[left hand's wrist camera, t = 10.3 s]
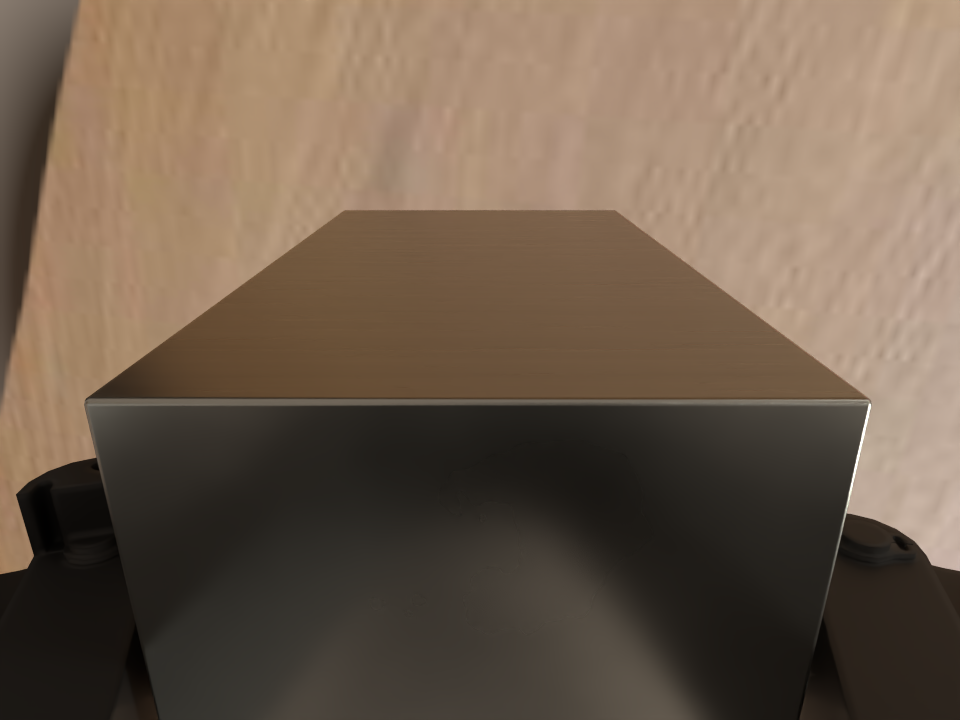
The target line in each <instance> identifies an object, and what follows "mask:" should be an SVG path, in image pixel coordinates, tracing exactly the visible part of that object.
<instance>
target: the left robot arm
mask: <svg viewBox="0 0 960 720" xmlns="http://www.w3.org/2000/svg"><path fill="white" fill-rule="evenodd" d="M16 496H17V500H18V503H19V506H20V510H21V513H22V517H23V520H24V523H25V527H26V530H27V533H28V537H29V540H30V544H31V547H32V550H33V554H34V557H33V559H32V561H31V563H30V565H29V566H28V568H27V569H24V570H20V571H15V572H10V573H5V574H0V720H158V716H157V711H156V707H155V703H154V699H153V694H152V690H151V686H150V682H149V677H148V673H147V669H146V665H145V661H144V656H143V652H142V648H141V644H140V639H139V635H138V631H137V627H136V622H135V618H134V614H133V610H132V605H131V601H130V597H129V593H128V588H127V584H126V580H125V576H124V571H123V567H122V563H121V559H120V554H119V550H118V546H117V542H116V537H115V533H114V529H113V525H112V520H111V516H110V512H109V508H108V504H107V499H106V495H105V491H104V487H103V482H102V478H101V474H100V470H99V465H98V461H97V458H93V459H88V460H83V461H78V462H73V463H70V464H67V465H64V466H62V467H59V468H56V469H53V470H50V471H48V472H46V473H44V474H43V475H41V476H39V477H37V478H35V479H34V480H32V481H30V482H28V483H27V484H26V485H25V486H24V487H23V488H22V489H21V490H20V491H19V492H18V493H17V494H16ZM798 720H960V571H956V570H950V569H945V568H941V567H937V566H933V565H931V563H930V561H929V560H928V558H927V556H926V554H925V553H924V552H923V551H922V550H921V548H920V547H919V546H918V545H917V544H916V543H915V541H913V540H912V539H910V538H909V537H907V536H906V535H904V534H903V533H901V532H900V531H898V530H897V529H895V528H892V527H890V526H888V525H885V524H883V523H881V522H878V521H876V520H873V519H869V518H865V517H861V516H857V515H852V514H847V513H846V518H845V522H844V526H843V531H842V535H841V539H840V543H839V548H838V552H837V556H836V561H835V565H834V569H833V573H832V578H831V582H830V586H829V591H828V595H827V599H826V603H825V608H824V612H823V616H822V621H821V625H820V629H819V633H818V638H817V642H816V646H815V651H814V655H813V659H812V664H811V668H810V672H809V676H808V681H807V685H806V689H805V694H804V698H803V702H802V706H801V711H800V715H799V719H798Z"/></svg>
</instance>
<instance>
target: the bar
mask: <svg viewBox="0 0 960 720" xmlns="http://www.w3.org/2000/svg"><path fill="white" fill-rule="evenodd" d="M84 406H85V410H86V414H87V419H88V423H89V427H90V431H91V436H92V440H93V444H94V448H95V453H96V457H97V461H98V465H99V470H100V474H101V478H102V482H103V487H104V491H105V495H106V499H107V504H108V508H109V512H110V516H111V520H112V525H113V529H114V533H115V537H116V542H117V546H118V550H119V554H120V559H121V563H122V567H123V571H124V576H125V580H126V584H127V588H128V593H129V597H130V601H131V605H132V610H133V614H134V618H135V622H136V627H137V631H138V635H139V639H140V644H141V648H142V652H143V656H144V661H145V665H146V669H147V673H148V677H149V682H150V686H151V690H152V694H153V699H154V703H155V707H156V711H157V716H158V720H798V719H799V715H800V711H801V706H802V702H803V698H804V694H805V689H806V685H807V681H808V676H809V672H810V668H811V664H812V659H813V655H814V651H815V646H816V642H817V638H818V633H819V629H820V625H821V621H822V616H823V612H824V608H825V603H826V599H827V595H828V591H829V586H830V582H831V578H832V573H833V569H834V565H835V561H836V556H837V552H838V548H839V543H840V539H841V535H842V531H843V526H844V522H845V518H846V513H847V509H848V505H849V501H850V496H851V492H852V488H853V483H854V479H855V475H856V470H857V466H858V462H859V458H860V453H861V449H862V445H863V440H864V436H865V432H866V428H867V423H868V419H869V415H870V410H871V406H872V405H871V400H870V399H869V398H868V397H866V396H865V395H864V394H862V393H861V392H860V391H858V390H857V389H856V388H854V387H853V386H852V385H850V384H849V383H847V382H846V381H845V380H843V379H842V378H841V377H839V376H838V375H837V374H835V373H834V372H833V371H831V370H830V369H829V368H827V367H826V366H825V365H823V364H822V363H820V362H819V361H818V360H816V359H815V358H814V357H812V356H811V355H810V354H808V353H807V352H806V351H804V350H803V349H802V348H800V347H799V346H798V345H796V344H795V343H793V342H792V341H791V340H789V339H788V338H787V337H785V336H784V335H783V334H781V333H780V332H779V331H777V330H776V329H775V328H773V327H772V326H771V325H769V324H768V323H766V322H765V321H764V320H762V319H761V318H760V317H758V316H757V315H756V314H754V313H753V312H752V311H750V310H749V309H748V308H746V307H745V306H744V305H742V304H741V303H740V302H738V301H737V300H735V299H734V298H733V297H731V296H730V295H729V294H727V293H726V292H725V291H723V290H722V289H721V288H719V287H718V286H717V285H715V284H714V283H713V282H711V281H710V280H708V279H707V278H706V277H704V276H703V275H702V274H700V273H699V272H698V271H696V270H695V269H694V268H692V267H691V266H690V265H688V264H687V263H686V262H684V261H683V260H681V259H680V258H679V257H677V256H676V255H675V254H673V253H672V252H671V251H669V250H668V249H667V248H665V247H664V246H663V245H661V244H660V243H659V242H657V241H656V240H654V239H653V238H652V237H650V236H649V235H648V234H646V233H645V232H644V231H642V230H641V229H640V228H638V227H637V226H636V225H634V224H633V223H632V222H630V221H629V220H627V219H626V218H625V217H623V216H622V215H621V214H619V213H618V212H617V211H615V210H345V211H343V212H342V213H340V214H339V215H338V216H336V217H335V218H333V219H332V220H331V221H329V222H328V223H327V224H325V225H324V226H322V227H321V228H320V229H318V230H317V231H316V232H314V233H313V234H311V235H310V236H309V237H307V238H306V239H305V240H303V241H302V242H300V243H299V244H298V245H296V246H295V247H294V248H292V249H291V250H290V251H288V252H287V253H285V254H284V255H283V256H281V257H280V258H279V259H277V260H276V261H274V262H273V263H272V264H270V265H269V266H268V267H266V268H265V269H263V270H262V271H261V272H259V273H258V274H257V275H255V276H254V277H252V278H251V279H250V280H248V281H247V282H246V283H244V284H243V285H241V286H240V287H239V288H237V289H236V290H235V291H233V292H232V293H230V294H229V295H228V296H226V297H225V298H224V299H222V300H221V301H220V302H218V303H217V304H215V305H214V306H213V307H211V308H210V309H209V310H207V311H206V312H204V313H203V314H202V315H200V316H199V317H198V318H196V319H195V320H193V321H192V322H191V323H189V324H188V325H187V326H185V327H184V328H182V329H181V330H180V331H178V332H177V333H176V334H174V335H173V336H171V337H170V338H169V339H167V340H166V341H165V342H163V343H162V344H160V345H159V346H158V347H156V348H155V349H154V350H152V351H151V352H150V353H148V354H147V355H145V356H144V357H143V358H141V359H140V360H139V361H137V362H136V363H134V364H133V365H132V366H130V367H129V368H128V369H126V370H125V371H123V372H122V373H121V374H119V375H118V376H117V377H115V378H114V379H112V380H111V381H110V382H108V383H107V384H106V385H104V386H103V387H101V388H100V389H99V390H97V391H96V392H95V393H93V394H92V395H91V396H89V397H88V398H86V400H85V404H84Z"/></svg>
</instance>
